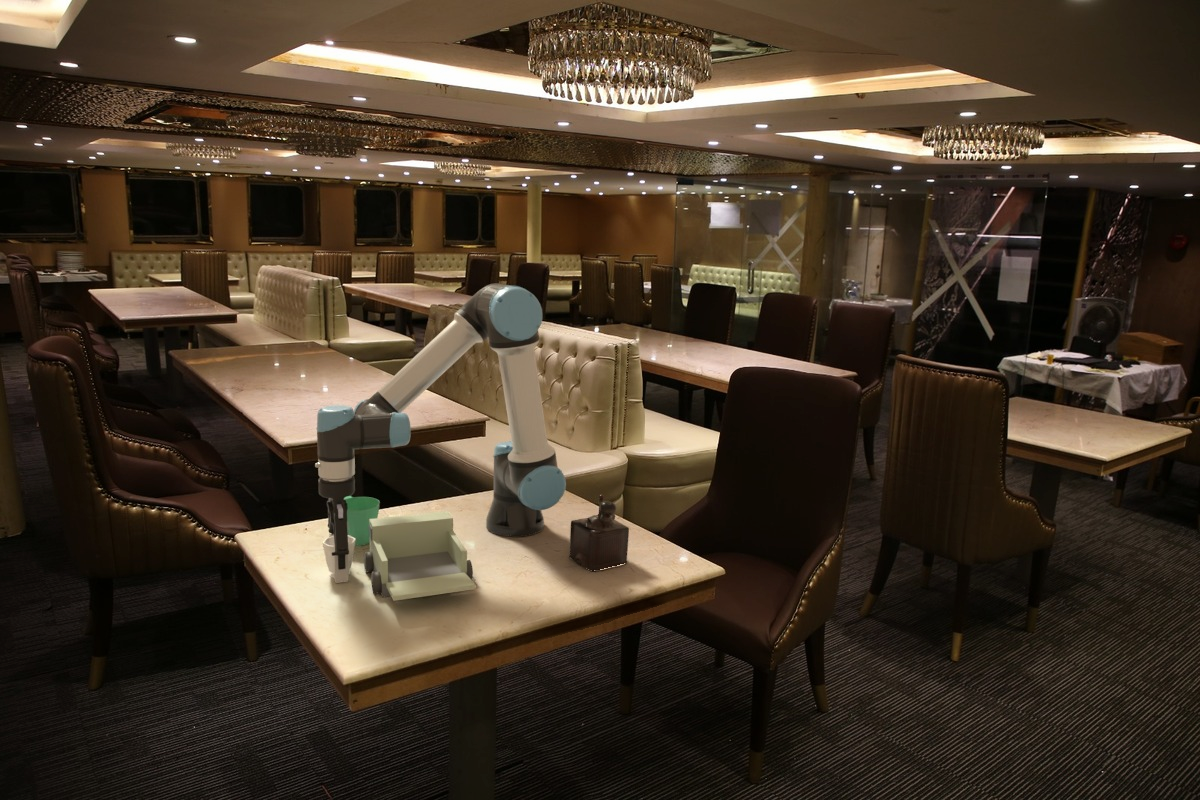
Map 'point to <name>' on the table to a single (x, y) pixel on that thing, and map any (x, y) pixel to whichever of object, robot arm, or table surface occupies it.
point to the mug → (361, 517)
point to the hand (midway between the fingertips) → (338, 571)
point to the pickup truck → (413, 549)
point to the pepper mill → (599, 539)
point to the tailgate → (430, 586)
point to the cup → (330, 547)
